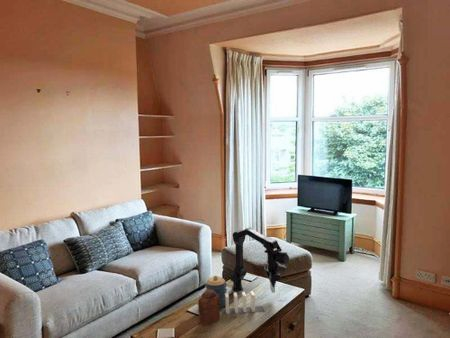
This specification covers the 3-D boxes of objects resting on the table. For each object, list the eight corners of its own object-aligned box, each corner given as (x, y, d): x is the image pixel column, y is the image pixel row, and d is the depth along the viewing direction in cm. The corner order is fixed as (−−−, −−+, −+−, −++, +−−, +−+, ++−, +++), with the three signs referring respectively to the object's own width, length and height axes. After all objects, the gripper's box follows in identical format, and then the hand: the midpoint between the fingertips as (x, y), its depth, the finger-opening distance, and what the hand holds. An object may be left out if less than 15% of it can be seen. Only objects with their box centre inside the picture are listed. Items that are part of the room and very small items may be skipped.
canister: (231, 302, 211) (230, 274, 209) (216, 311, 201) (216, 282, 200) (216, 296, 220) (215, 269, 218) (201, 304, 210) (200, 276, 208)
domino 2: (234, 308, 203) (233, 292, 202) (236, 308, 203) (236, 292, 202) (235, 313, 198) (234, 296, 197) (237, 313, 198) (237, 296, 197)
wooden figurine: (215, 315, 196) (214, 285, 194) (221, 320, 191) (220, 289, 189) (197, 322, 190) (195, 291, 188) (203, 328, 184) (201, 295, 182)
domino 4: (250, 307, 204) (250, 291, 203) (253, 307, 204) (253, 291, 203) (252, 311, 199) (251, 295, 198) (255, 311, 199) (254, 295, 198)
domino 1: (225, 309, 202) (225, 293, 201) (228, 309, 202) (227, 293, 201) (226, 313, 197) (226, 297, 196) (229, 313, 197) (228, 297, 196)
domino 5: (270, 289, 214) (270, 273, 213) (272, 288, 214) (272, 273, 213) (272, 292, 209) (272, 276, 208) (274, 292, 209) (274, 276, 208)
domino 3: (242, 308, 203) (242, 291, 202) (245, 307, 203) (244, 291, 202) (243, 312, 198) (243, 295, 197) (246, 312, 198) (246, 295, 197)
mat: (221, 309, 203) (221, 308, 203) (262, 306, 205) (262, 305, 205) (222, 315, 196) (222, 315, 196) (265, 312, 198) (265, 311, 198)
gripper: (289, 265, 201) (289, 291, 202) (281, 254, 219) (281, 277, 221) (270, 266, 200) (271, 292, 201) (263, 255, 218) (264, 279, 220)
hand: (272, 285), depth 211 cm, fingers closed on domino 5, 5 cm apart
